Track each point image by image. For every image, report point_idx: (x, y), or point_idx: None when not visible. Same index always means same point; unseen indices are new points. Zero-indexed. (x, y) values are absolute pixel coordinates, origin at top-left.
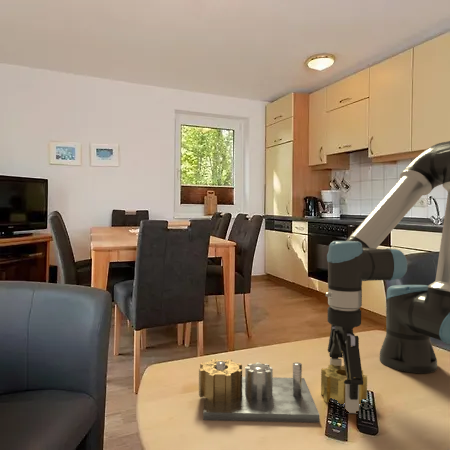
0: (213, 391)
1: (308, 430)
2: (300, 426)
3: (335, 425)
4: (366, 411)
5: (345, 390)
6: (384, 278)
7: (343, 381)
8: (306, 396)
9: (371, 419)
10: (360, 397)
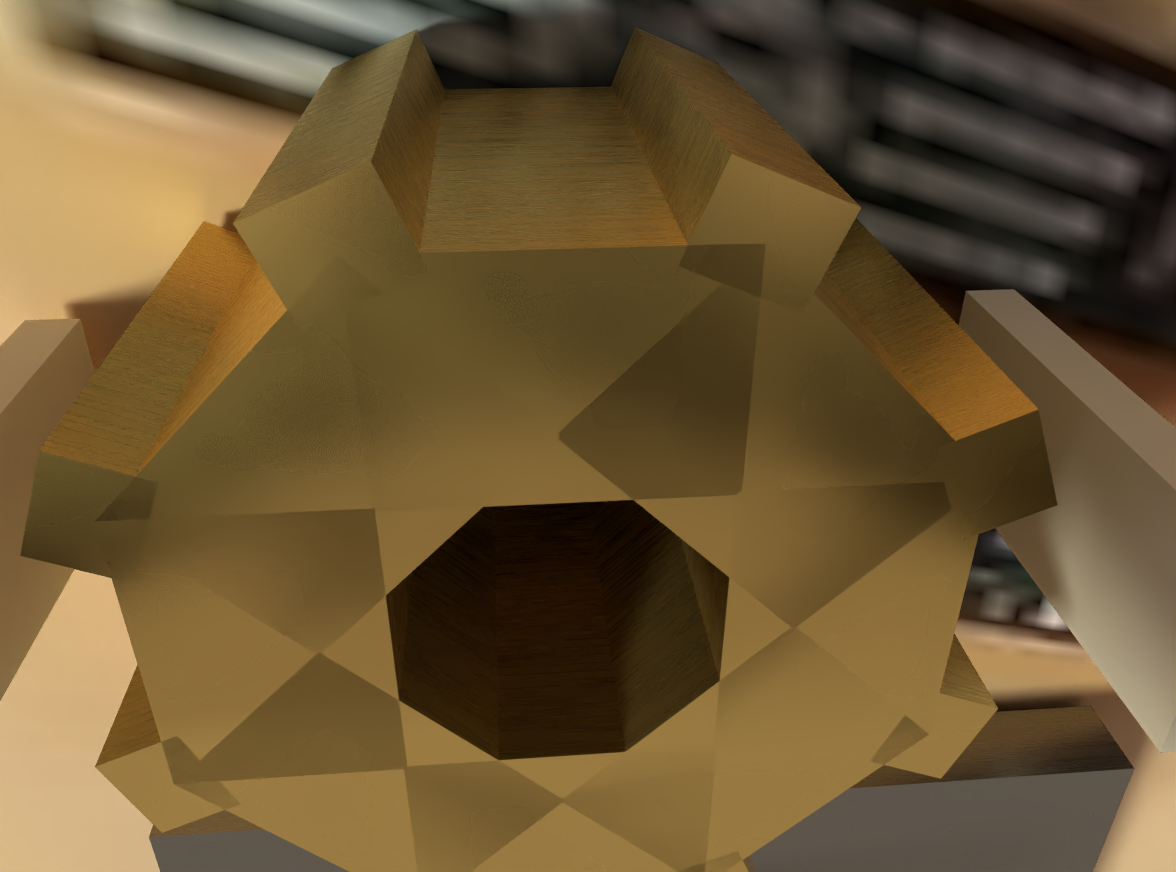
0: None
1: (1165, 779)
2: None
3: None
4: (918, 134)
5: (1081, 632)
6: None
7: (990, 711)
8: None
9: (1139, 135)
10: (899, 269)
